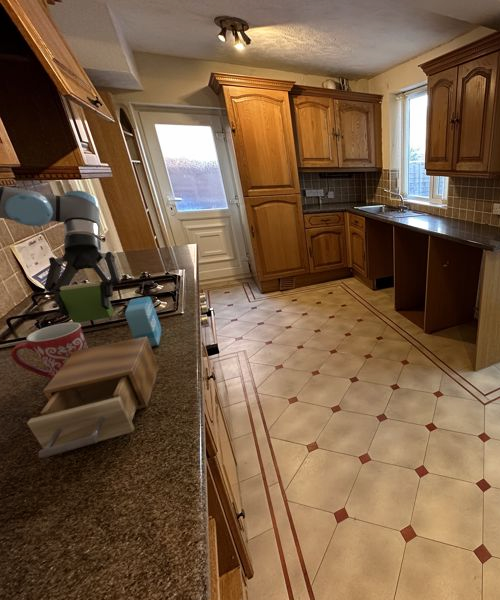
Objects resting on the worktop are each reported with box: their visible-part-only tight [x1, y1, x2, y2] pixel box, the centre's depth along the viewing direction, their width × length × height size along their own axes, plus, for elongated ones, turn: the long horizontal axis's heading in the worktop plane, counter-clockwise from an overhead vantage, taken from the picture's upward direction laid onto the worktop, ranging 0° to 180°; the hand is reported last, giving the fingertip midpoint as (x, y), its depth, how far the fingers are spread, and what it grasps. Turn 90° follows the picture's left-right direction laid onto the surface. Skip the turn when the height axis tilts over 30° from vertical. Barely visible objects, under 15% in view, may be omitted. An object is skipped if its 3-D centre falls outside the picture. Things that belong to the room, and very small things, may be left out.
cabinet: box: [42, 337, 160, 411], centre depth 72 cm, size 16×14×10 cm
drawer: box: [26, 375, 139, 460], centre depth 62 cm, size 21×12×8 cm, turn 26°
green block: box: [59, 281, 115, 323], centre depth 89 cm, size 4×8×10 cm, turn 116°
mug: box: [10, 321, 89, 380], centre depth 76 cm, size 13×9×14 cm
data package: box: [124, 296, 163, 348], centre depth 93 cm, size 12×4×12 cm, turn 30°
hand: (85, 310), depth 87 cm, fingers closed on green block, 8 cm apart
